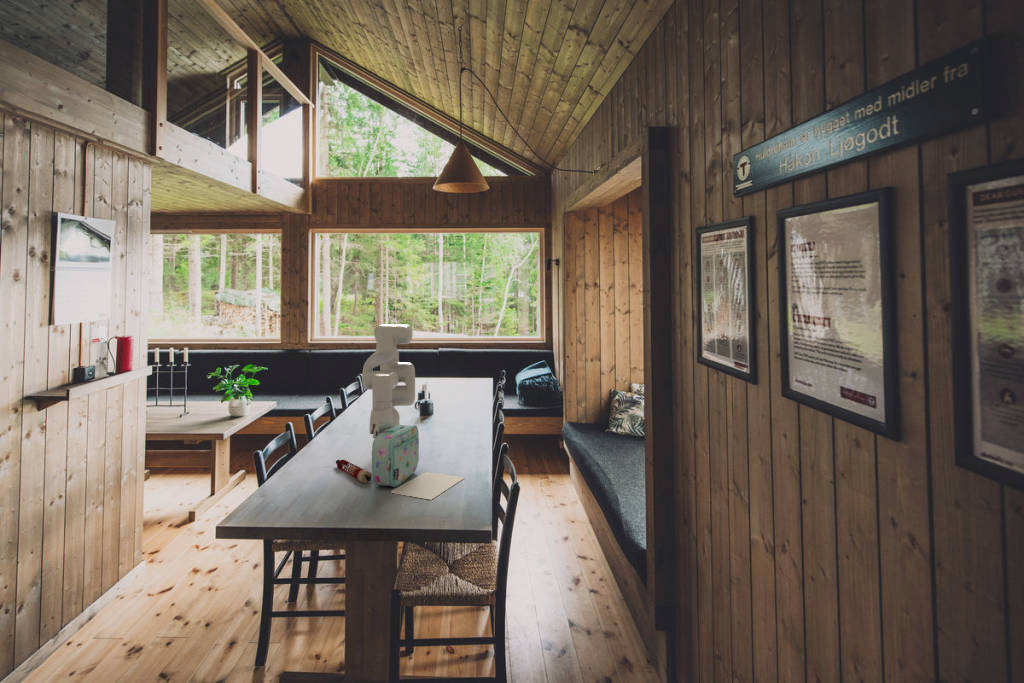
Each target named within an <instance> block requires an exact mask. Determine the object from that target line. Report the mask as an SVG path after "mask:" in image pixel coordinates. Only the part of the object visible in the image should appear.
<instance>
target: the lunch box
mask: <svg viewBox="0 0 1024 683" xmlns="http://www.w3.org/2000/svg"><path fill="white" fill-rule="evenodd" d="M419 434H420V433H419V428H418V426H417V425H404V424H403V425H402V424H400V425H396V426H394V427H392V428H390V429H388V430H385V431H384V432H382V433H380V434H379V435H377V436H376V437H375V438H373V441H372V449H371V450H372V451H371V460H372V464H371V470H372V472H371V473H372V479H373V483H374V484H375V485H376V486H387V487H388V486H389V487H393V488H397V487H399V486H401V484H402V483H403V482H405V481H406V480H407V479H408V478H410V477H411V476H412V474H414V473H415V472H416V470H417V468H418V464H419V456H420V455H419V448H420V438H419Z"/></svg>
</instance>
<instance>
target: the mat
mask: <svg viewBox="0 0 1024 683" xmlns="http://www.w3.org/2000/svg"><path fill="white" fill-rule="evenodd" d="M464 478H465V477H463V476H455V475H450V474H443V473H437V472H430V471H426V472H423V473H422V474H420V475H418V476H416V477H414V478H412V479H410V480H409V481H407V482H405V483H403V484H402V485H401V484H400V485H398V486H397V487H395V488H394V489H392V490H391V491H392V492H391V491H389V492H391V493H390V494H392V493H393V492H394V493H395V494H394V495H397V494H401V495H400V496H403V495H406V496H405V497H409V496H412V497H411V498H414V497H417V499H420V498H423V499H422V500H426V499H429V500H428V501H432V499H433V498H434V499H436V498H437V497H439V496H440V495H442V494H444V493H445V492H446V491H448V490H449V489H452V488H453V487H454V486H456V485H457V484H459V483H460V482H462V481H464V480H465V479H464ZM461 480H462V481H461ZM458 482H459V483H458ZM455 484H456V485H455ZM453 485H454V486H453ZM452 486H453V487H452ZM444 491H445V492H444ZM441 493H442V494H441ZM438 495H439V496H438ZM436 496H437V497H436ZM435 497H436V498H435ZM434 499H433V500H434Z"/></svg>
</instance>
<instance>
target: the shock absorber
mask: <svg viewBox="0 0 1024 683" xmlns="http://www.w3.org/2000/svg"><path fill="white" fill-rule="evenodd" d="M335 464H336V465H337V466H336V467H337V469H338V470H339V471H341V472H343V473H345V474H347V475H349V476H350V477H353V478H354V479H356V480H358V481H359V482H360V483H363V482H364V483H363V484H368V483H369V482H372V479H373V473H372V472H370V471H369V470H367V469H364V468H362V467H360V466H357V465H356V464H353V463H351V462H350V461H348V460H345V459H336V460H335ZM343 469H344V470H343ZM345 469H346V470H345ZM347 470H348V471H347ZM367 482H368V483H367Z"/></svg>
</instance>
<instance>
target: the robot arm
mask: <svg viewBox="0 0 1024 683" xmlns="http://www.w3.org/2000/svg"><path fill="white" fill-rule="evenodd" d="M413 333H414V332H413V328H412V326H411V325H410V324H404V323H403V324H398V323H397V324H393V323H391V324H390V323H389V324H388V323H385V324H383V323H382V324H379V325H376V326H374V330H373V335H374V339H375V343H376V346H375V352H373V353H372V354H371V355H370V356H369V357H368V358H367V359H366V361H365V362H364V364H363V369H362V375H361V377H362V378H361V383H362V387H363V388H364V389H366V390H372V391H371V394H372V397H371V399H372V404H371V406H372V409H371V411H370V415H369V416H370V417H369V434H370V435H372V439H375V437H376V436H377V435H379V434H380V433H382V432H384V431H385V430H388V429H390V428H392V427H394V426H396V425H401V424H400V423H401V422H400V419H401V418H400V417H401V416H400V413H399V411H398V410H397V408H396V407H404V406H406V407H407V406H412V405H414V404H415V400H416V369H415V365H414V364H413V363H412V362H407V361H406V362H405V361H404V362H402V361H401V362H400V352H399V350H398V348H397V345H409V344H410V343H411V341H412V339H413ZM377 367H379V368H380V370H373V369H374V368H377ZM399 383H404V385H403V384H402V385H401V384H399Z"/></svg>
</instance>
